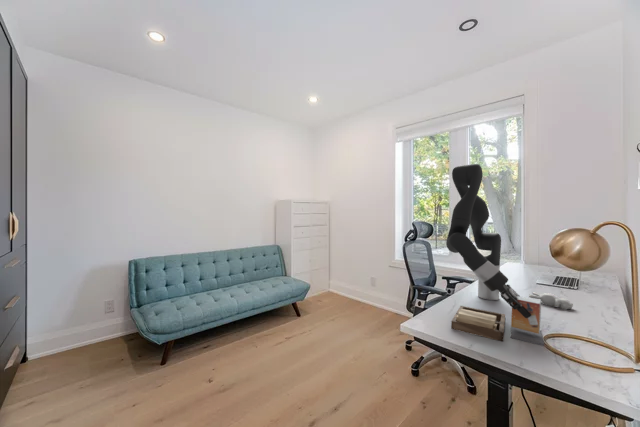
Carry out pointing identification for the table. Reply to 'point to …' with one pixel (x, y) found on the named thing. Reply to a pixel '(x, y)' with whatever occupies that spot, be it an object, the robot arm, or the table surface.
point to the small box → (531, 322)
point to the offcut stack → (477, 319)
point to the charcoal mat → (527, 336)
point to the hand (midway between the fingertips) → (528, 313)
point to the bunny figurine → (552, 300)
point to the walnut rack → (480, 330)
